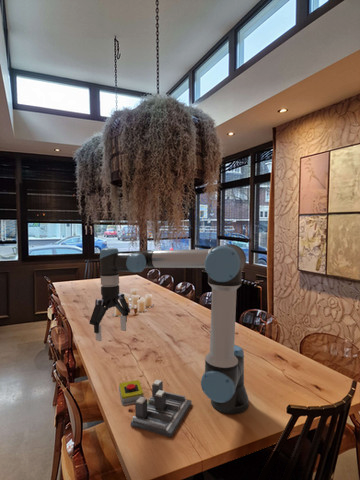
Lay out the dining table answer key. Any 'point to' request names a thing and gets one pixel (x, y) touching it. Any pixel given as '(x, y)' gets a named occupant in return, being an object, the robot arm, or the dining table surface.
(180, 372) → the dining table surface
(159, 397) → the block
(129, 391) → the emergency button
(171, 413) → the panel
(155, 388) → the breaker far
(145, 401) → the block
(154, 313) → the dining table surface
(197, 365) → the dining table surface
